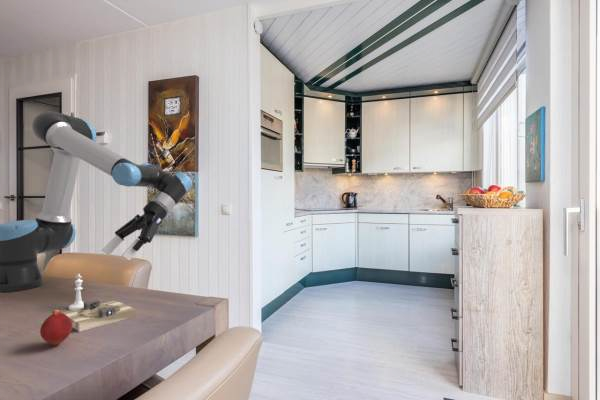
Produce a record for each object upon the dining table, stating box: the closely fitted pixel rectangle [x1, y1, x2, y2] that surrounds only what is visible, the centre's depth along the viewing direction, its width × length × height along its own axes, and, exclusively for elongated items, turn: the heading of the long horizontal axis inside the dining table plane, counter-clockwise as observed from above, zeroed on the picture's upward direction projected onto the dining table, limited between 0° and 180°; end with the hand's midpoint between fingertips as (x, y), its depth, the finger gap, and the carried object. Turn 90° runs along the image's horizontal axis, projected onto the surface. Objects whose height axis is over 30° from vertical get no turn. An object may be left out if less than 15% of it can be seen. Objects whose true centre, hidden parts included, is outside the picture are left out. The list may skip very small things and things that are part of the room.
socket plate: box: [62, 299, 137, 333], centre depth 92 cm, size 12×14×4 cm
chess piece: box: [67, 273, 85, 311], centre depth 101 cm, size 5×5×10 cm
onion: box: [39, 309, 73, 346], centre depth 76 cm, size 6×6×8 cm
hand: (114, 255), depth 109 cm, fingers open, 13 cm apart
